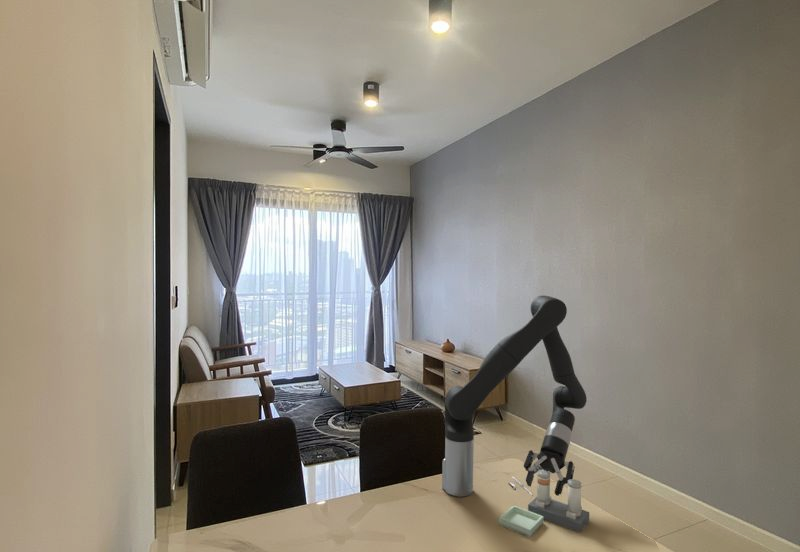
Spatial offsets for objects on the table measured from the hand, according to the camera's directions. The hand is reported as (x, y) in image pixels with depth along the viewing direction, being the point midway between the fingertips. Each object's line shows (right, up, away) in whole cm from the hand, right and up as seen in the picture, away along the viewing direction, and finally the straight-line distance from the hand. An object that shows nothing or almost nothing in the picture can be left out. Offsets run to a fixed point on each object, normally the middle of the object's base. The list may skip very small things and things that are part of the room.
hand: (542, 489), depth 127 cm
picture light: (-3, -8, +17) cm, 19 cm away
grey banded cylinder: (+1, -4, +1) cm, 4 cm away
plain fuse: (+7, -4, -5) cm, 10 cm away
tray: (-8, -6, -6) cm, 12 cm away
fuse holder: (+4, -7, -2) cm, 8 cm away
